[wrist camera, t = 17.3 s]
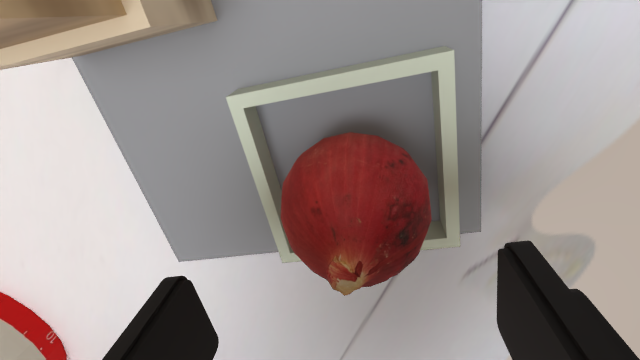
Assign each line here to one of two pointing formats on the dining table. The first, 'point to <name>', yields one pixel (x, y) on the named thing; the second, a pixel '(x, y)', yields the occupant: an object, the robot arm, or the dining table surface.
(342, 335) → the dining table surface
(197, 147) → the board
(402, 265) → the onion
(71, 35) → the brown rectangular block
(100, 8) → the cube
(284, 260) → the socket
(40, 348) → the kitchen timer
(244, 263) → the dining table surface
